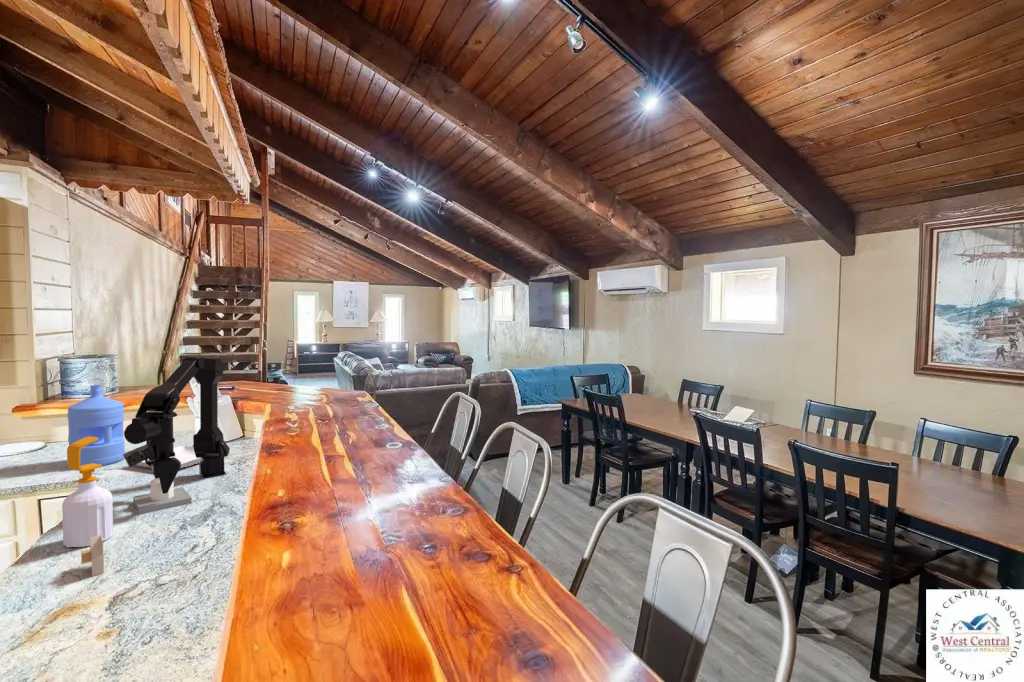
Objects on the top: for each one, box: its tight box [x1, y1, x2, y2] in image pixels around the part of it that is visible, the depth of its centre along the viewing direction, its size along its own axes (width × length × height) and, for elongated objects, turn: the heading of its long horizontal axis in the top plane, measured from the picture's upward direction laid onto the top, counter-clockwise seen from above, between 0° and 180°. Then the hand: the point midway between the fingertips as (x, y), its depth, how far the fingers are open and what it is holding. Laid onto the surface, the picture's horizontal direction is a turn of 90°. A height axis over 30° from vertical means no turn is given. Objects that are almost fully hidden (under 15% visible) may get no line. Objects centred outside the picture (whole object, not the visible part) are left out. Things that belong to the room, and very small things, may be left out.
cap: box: [149, 478, 175, 501], centre depth 141 cm, size 5×5×5 cm
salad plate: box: [135, 444, 201, 469], centre depth 179 cm, size 21×21×3 cm
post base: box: [132, 486, 192, 515], centre depth 141 cm, size 12×12×6 cm
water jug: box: [67, 384, 126, 467], centre depth 178 cm, size 16×16×28 cm
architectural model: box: [80, 532, 105, 577], centre depth 103 cm, size 3×7×7 cm, turn 42°
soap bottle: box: [61, 436, 114, 548], centre depth 116 cm, size 9×9×25 cm
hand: (162, 488), depth 141 cm, fingers open, 9 cm apart
